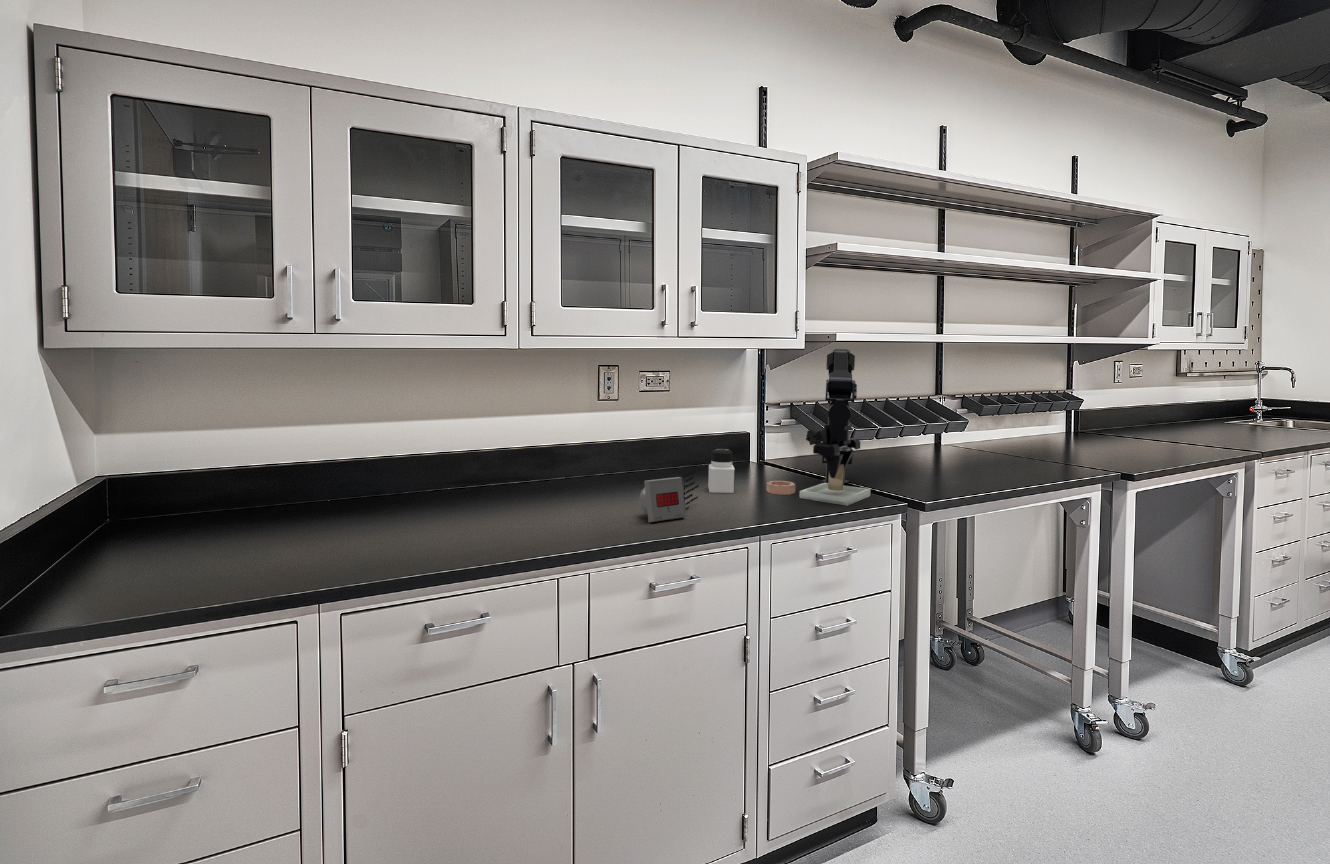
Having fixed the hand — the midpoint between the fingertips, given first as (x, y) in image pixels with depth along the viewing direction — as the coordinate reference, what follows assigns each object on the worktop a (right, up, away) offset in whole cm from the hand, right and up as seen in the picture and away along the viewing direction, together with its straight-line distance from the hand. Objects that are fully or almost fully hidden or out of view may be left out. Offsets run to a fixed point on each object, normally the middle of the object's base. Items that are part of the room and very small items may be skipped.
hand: (836, 476), depth 195 cm
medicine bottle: (-32, -5, +7) cm, 33 cm away
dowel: (0, -4, 0) cm, 4 cm away
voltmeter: (-45, -8, -20) cm, 50 cm away
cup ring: (-14, -5, +7) cm, 17 cm away
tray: (0, -6, +1) cm, 6 cm away
